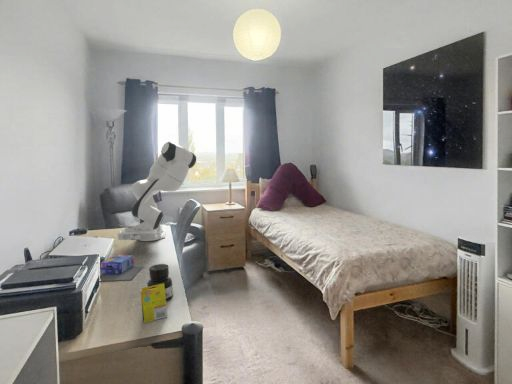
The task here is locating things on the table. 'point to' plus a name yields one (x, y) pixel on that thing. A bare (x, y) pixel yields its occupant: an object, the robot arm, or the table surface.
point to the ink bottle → (161, 279)
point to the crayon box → (153, 303)
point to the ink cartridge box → (117, 264)
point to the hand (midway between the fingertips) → (133, 238)
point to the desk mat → (122, 275)
